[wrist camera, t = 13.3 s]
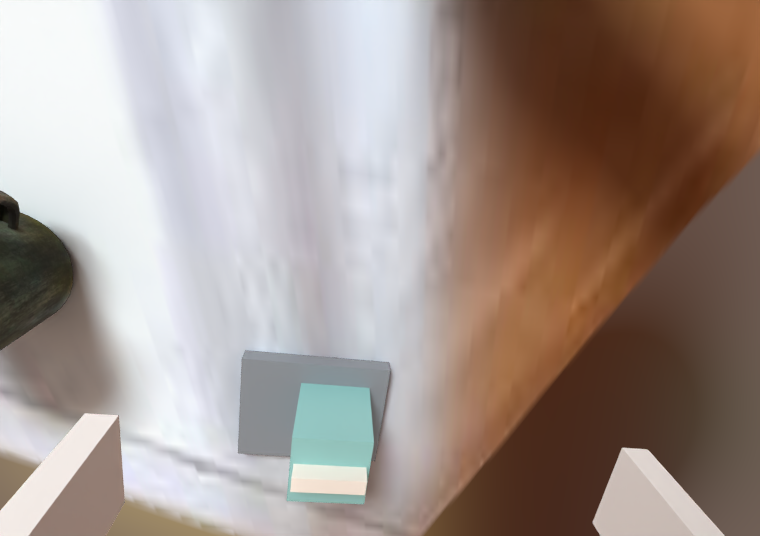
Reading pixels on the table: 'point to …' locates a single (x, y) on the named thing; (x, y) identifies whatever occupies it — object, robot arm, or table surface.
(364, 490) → the teal cube with ledge
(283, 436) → the post board
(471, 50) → the table surface
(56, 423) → the table surface
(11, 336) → the mug
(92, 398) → the table surface
